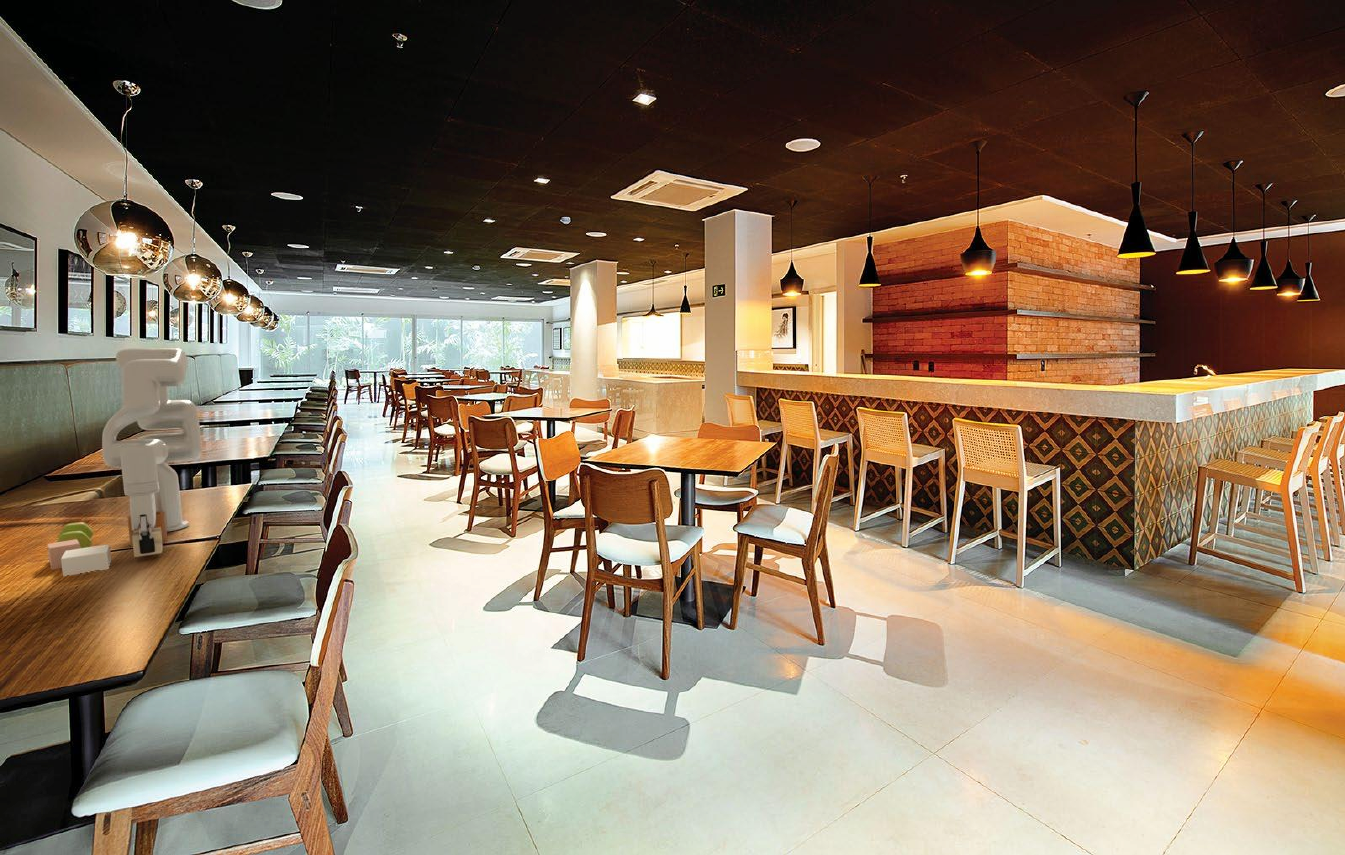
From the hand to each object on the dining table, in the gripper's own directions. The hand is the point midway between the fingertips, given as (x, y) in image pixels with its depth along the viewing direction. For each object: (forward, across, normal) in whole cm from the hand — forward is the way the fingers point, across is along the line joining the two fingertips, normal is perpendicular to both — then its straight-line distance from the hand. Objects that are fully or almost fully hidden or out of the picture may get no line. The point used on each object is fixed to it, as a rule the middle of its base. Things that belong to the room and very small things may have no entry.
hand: (148, 548), depth 181 cm
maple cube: (+1, 0, 0) cm, 1 cm away
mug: (+3, -17, -1) cm, 18 cm away
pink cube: (+3, -7, -18) cm, 20 cm away
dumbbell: (+4, -22, -18) cm, 29 cm away
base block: (+3, +1, -13) cm, 13 cm away
